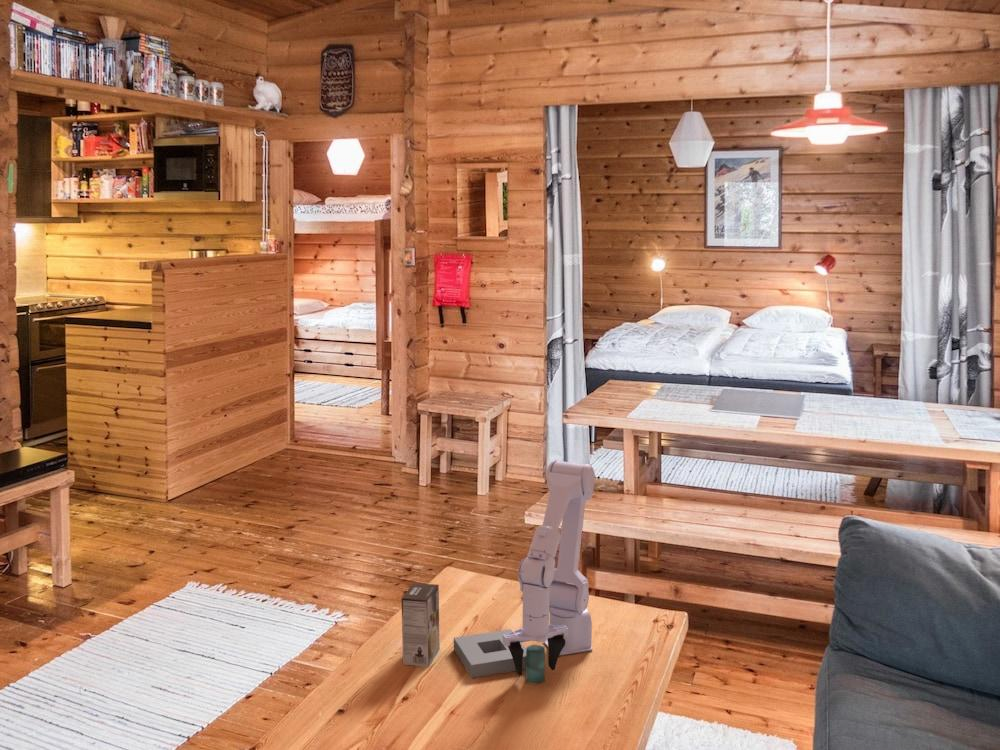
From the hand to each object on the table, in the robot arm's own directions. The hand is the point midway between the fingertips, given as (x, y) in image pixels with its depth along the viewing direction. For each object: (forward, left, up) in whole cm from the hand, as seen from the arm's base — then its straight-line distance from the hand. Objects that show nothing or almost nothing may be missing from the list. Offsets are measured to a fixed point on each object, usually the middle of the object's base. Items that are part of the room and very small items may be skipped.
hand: (535, 670), depth 199 cm
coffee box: (+21, -18, -2) cm, 28 cm away
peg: (0, 0, -2) cm, 2 cm away
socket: (+6, -12, -2) cm, 14 cm away
